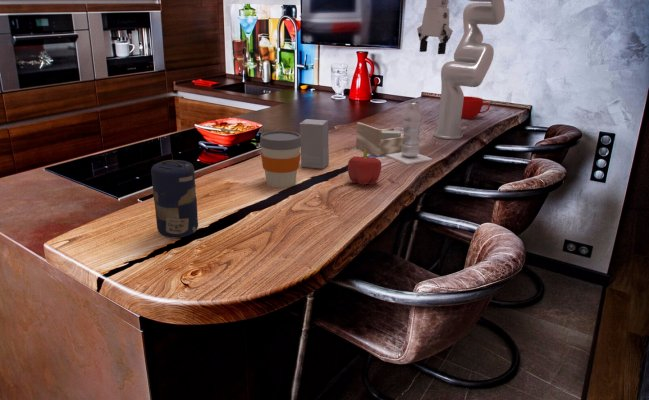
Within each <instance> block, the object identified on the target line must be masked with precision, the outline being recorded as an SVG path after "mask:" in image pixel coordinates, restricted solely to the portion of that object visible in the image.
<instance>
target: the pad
mask: <svg viewBox="0 0 649 400" xmlns="http://www.w3.org/2000/svg"><path fill="white" fill-rule="evenodd" d="M385 157H387V158H389V159H392V160H394V161H397V162H399V163H402V164H404V165H407V166H408V165H413V164H414V165H415V164H419V163H425V162H430V161H433V158H432V157H428V156H426V155H424V154H420V153H419V154H418V155H417V156H416V157H406V156H403V155H402V154H401V152H400V153H393V154H387V155H385Z"/></svg>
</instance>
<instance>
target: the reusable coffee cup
mask: <svg viewBox="0 0 649 400" xmlns="http://www.w3.org/2000/svg"><path fill="white" fill-rule="evenodd" d="M259 138H260V139H259V147H261V153H260V156H261V164H262V169H263V170H264V173H265V182H266V185H268V186H269V187H272V188H277V189H278V188H280V189H282V188H284V189H285V188H289V187H293V186H294V185H296V180H297V173H298V170H299V167H300V164H301V145H302V144H301V135H300V133H298V132H296V131H288V130H273V131H266V132H263V133H261V134H260V137H259Z"/></svg>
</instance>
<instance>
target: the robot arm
mask: <svg viewBox="0 0 649 400" xmlns="http://www.w3.org/2000/svg"><path fill="white" fill-rule="evenodd" d="M468 2H472V3H469V4H467V5H466V6H465V7H464V10H463V13H462V23H463V35H462V37H461V39H460V41H459V43H458V44H457V47H456V49H455V51H454V53H453V60H450V61H447V62H445V63H444V64H443V66H442V67H441V70H440V79H441V80H440V81H441V91H440V100H439V108H438V109H439V110H438V116H437V119H438V120H437V125H436V127H437V128H436V130H435V131H433V132H432V135H433V136H434V137H435V138H439V139H441V140H442V139H443V140H460V139H462V138H463V137H464V136H463V135H464V134H463V133H462V132H463V131H467V129H468V127H467V126H466V125H464V126H463V125H461V122H462V118H461V115H462V108H463V100H464V96H465V95H464V92H463V89H462V87H469V88H476V87H477V88H478V87H479V86H481V85H482V83H483V81H484V79H485V77H486V75H487V73H488V70H489V69H490V68H491V65H492V62H493V61H494V56H495V55H494V54H495V53H494V47H493V46H492V45H491V44H490V43H486V42H483V41H484V35H483V33H482V31H481V29H480V28H479V25H488V26H489V25H491V26H496V25H500V24H501V23H503V21H504V19H505V13H506V7H505V0H468ZM448 5H449V0H426V5H425V8H424V12H423V16H422V20H421V21H422V22H421V25H419V26H418V27H417V28H416V31H417V36H418V40H419V53H425V52H426V53H427V50H428V43H429V41H428V39H429V37H432V38H433V37H435V38H438V40H439V42H438V47H437V54H438V55H445V54H446V49H447V43H448V42H449V40H450V39H451V36H452V35H453V32H454V31H453V29H451V28H450V9H449V7H448Z"/></svg>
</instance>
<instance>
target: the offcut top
mask: <svg viewBox="0 0 649 400" xmlns="http://www.w3.org/2000/svg"><path fill="white" fill-rule="evenodd" d="M397 137H402V132H401V130H394V131H386V130H382V134H381V139H390V138H397Z"/></svg>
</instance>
